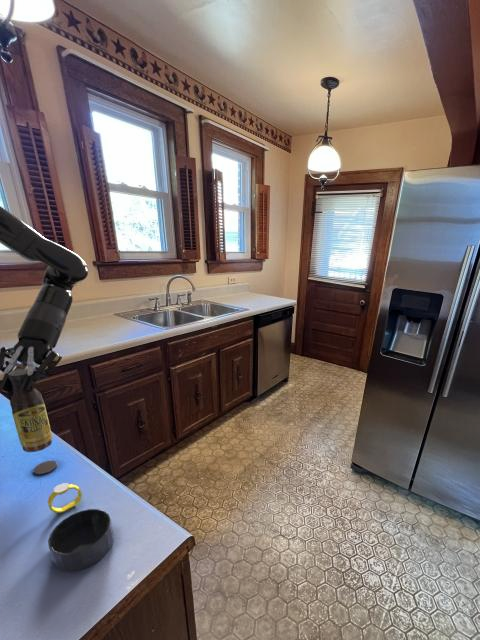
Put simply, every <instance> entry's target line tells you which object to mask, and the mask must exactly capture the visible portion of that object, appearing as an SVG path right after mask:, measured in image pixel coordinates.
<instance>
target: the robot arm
mask: <svg viewBox="0 0 480 640" xmlns="http://www.w3.org/2000/svg"><path fill="white" fill-rule="evenodd" d="M0 244H1V245H2V246H4V247H6V248H7V249H9V250H10V251H12V252H13V253H14V254H16V255H17V256H20V257H21V258H22V259H24V260H25V261H27V262H30V263H42V264H44V265H46V266H47V268H46V269H45V271H44V274H43V277H42V281H41V288H40V289H39V291H38V293H37V295H36V297H35V300H34V302H33V303H32V305H31V306H30V308H29V310H28V311H27V314H26V315H25V318H24V320H23V322H22V324H21V326H20V329H19V330H18V332H17V338H18V340H17V342H16V343H15V344H14V345H13V347H9V348H8V347H5V346H2V347H0V372H2V373H3V374H4V375H3V377H2V379H1V382H0V391H2V392H5V393H11V392H12V391H13V387H12V383H11V381H10V380H9V377H8V373H10V372H11V371H14V370H19V369H28V372H27V375H28V376H25V378H24V381H23V383H22V385H21V388H20V392H22V393H24V394H30V392H32V390H33V389H34V388H35V386H36V384H37V382H38V380H40V379H41V378H48V377H49V376H50V375H51V373H53V371H54V369H55V368H56V367H57V365H58V364H59V362H61V360H62V359H63V356H62V355H61V354H60V353H58V352H56V351H54V350H53V349H55V348H56V346H57V344H58V341H59V339H60V337H61V334H62V332H63V329H64V327H65V325H66V321H67V316H68V314H69V312H70V309H71V307H72V305H73V300H74V298H73V294H72V290H73V289H74V287H75V285H77V284H79V283H81V282H82V281H84V280H86V278H87V277H88V275H89V268H88V265H87V264H86V262H85V261H84V260H83V259H82V258H81V257H80V256H79V255H78V254H77V253H75V252H74V251H71V250H69V249H67V248H66V247H64V246H62V245H61V244H58V243H56V242H53V241H52V240H49V239H47V238H45V237H44V236H42V234H40V233H39V232H37V231H36V230H35V229H34V228H32V227H31V226H30V225H28V224H26V223H25V222H24V221H22V220H21V219H19V218H18V217H16V216H15V215H14V214H12V213H11V212H9V210H7V209H5V208H3V206H1V205H0Z"/></svg>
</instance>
